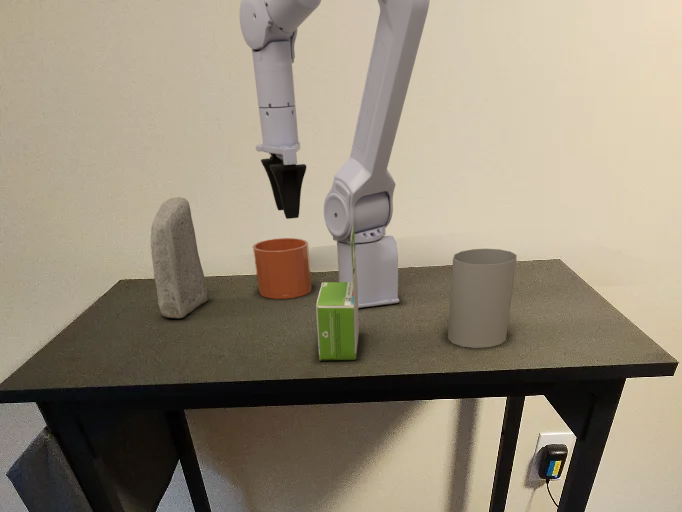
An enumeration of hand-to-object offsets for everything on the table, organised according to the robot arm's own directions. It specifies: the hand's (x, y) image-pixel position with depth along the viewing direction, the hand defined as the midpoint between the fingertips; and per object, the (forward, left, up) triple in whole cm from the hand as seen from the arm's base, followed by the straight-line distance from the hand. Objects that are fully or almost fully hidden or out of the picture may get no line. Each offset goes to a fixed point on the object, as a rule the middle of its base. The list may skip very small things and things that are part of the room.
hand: (287, 213), depth 100 cm
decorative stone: (+20, +8, -11) cm, 24 cm away
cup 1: (+2, +4, -10) cm, 12 cm away
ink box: (0, +35, -11) cm, 37 cm away
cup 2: (-20, +38, -11) cm, 44 cm away
